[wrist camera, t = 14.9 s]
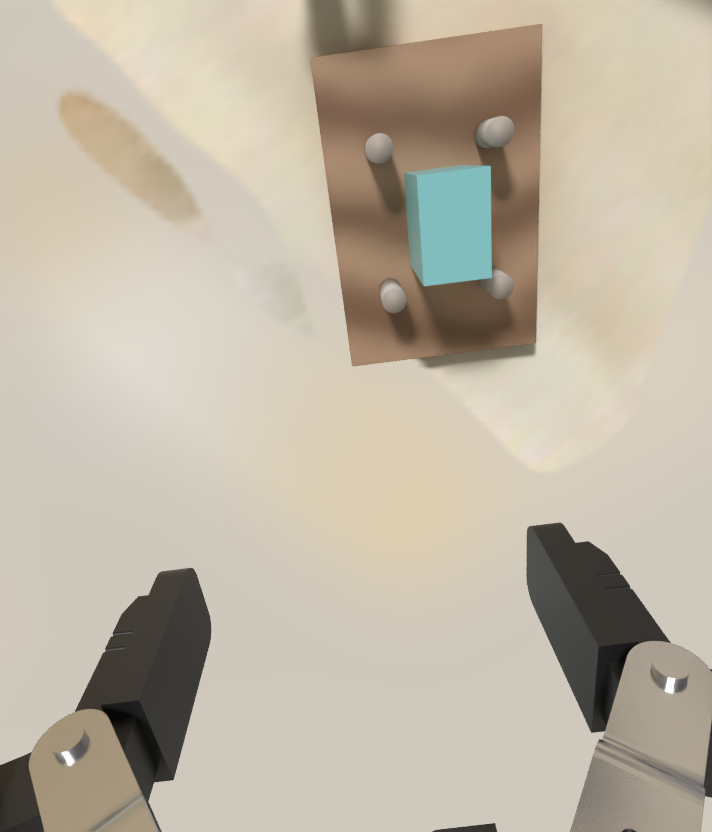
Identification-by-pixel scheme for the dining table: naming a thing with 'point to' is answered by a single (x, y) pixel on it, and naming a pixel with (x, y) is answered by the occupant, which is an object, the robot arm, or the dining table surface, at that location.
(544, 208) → the dining table surface
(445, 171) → the block
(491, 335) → the stub board
